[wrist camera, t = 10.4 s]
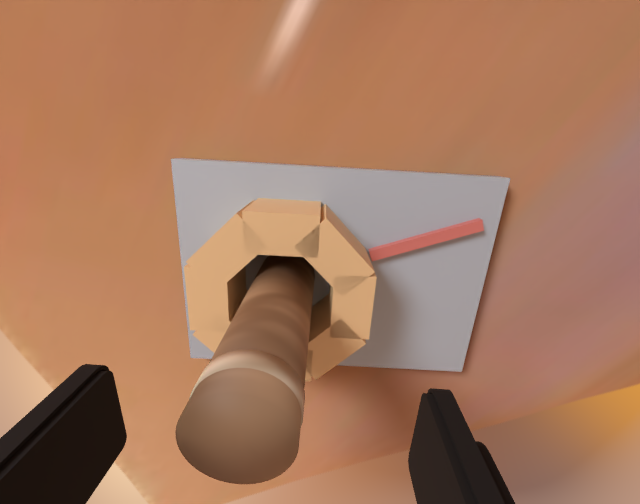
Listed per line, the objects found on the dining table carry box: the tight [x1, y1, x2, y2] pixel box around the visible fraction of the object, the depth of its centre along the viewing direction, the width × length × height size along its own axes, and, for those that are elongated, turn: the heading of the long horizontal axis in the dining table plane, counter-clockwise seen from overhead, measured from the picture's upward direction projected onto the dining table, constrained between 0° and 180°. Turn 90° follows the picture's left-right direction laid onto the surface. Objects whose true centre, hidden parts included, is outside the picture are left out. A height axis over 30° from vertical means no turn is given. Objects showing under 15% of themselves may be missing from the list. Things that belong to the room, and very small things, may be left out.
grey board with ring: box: [171, 158, 510, 381], centre depth 19 cm, size 20×14×5 cm
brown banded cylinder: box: [176, 255, 315, 484], centre depth 15 cm, size 4×4×12 cm
